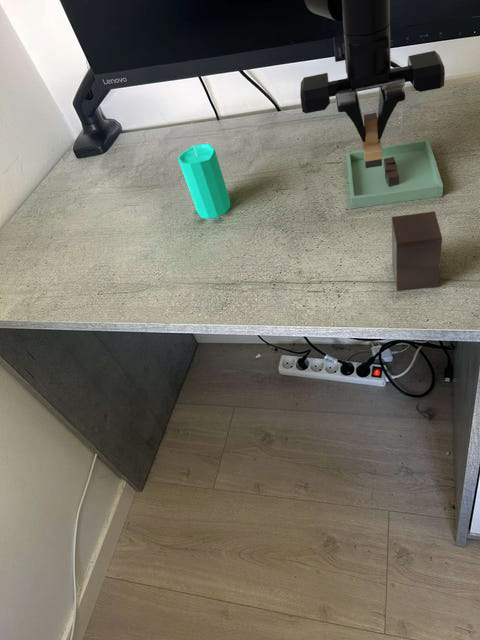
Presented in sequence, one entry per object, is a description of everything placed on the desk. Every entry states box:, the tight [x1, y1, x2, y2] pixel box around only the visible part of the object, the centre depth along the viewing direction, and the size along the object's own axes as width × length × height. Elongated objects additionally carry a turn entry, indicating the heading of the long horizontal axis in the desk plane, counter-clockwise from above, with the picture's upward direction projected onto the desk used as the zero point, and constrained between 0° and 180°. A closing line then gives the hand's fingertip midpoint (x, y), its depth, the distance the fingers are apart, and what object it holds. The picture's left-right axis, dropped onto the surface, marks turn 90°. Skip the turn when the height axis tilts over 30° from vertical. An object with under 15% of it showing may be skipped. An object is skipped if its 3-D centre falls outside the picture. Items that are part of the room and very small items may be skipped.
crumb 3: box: [386, 171, 399, 187], centre depth 76 cm, size 2×2×2 cm
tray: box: [345, 138, 444, 210], centre depth 77 cm, size 13×13×2 cm
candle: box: [177, 143, 232, 220], centre depth 80 cm, size 6×6×12 cm
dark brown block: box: [391, 211, 443, 292], centre depth 60 cm, size 5×5×8 cm
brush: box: [361, 112, 383, 168], centre depth 73 cm, size 6×3×7 cm, turn 175°
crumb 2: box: [385, 164, 397, 179], centre depth 77 cm, size 2×2×2 cm
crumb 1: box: [384, 157, 396, 169], centre depth 78 cm, size 2×2×2 cm
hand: (371, 139), depth 73 cm, fingers closed on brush, 2 cm apart
